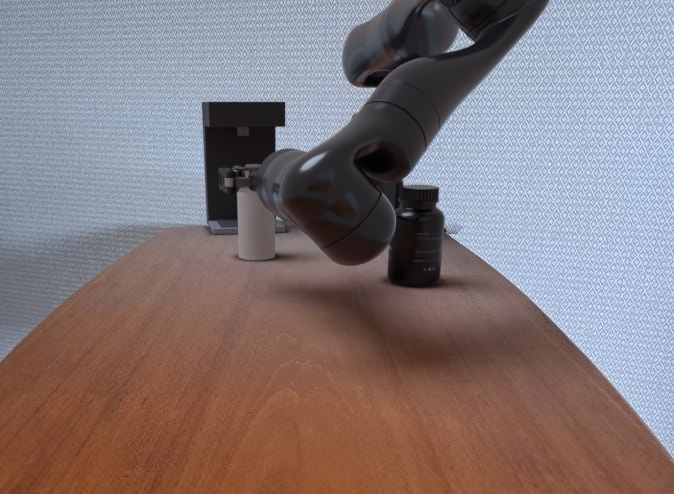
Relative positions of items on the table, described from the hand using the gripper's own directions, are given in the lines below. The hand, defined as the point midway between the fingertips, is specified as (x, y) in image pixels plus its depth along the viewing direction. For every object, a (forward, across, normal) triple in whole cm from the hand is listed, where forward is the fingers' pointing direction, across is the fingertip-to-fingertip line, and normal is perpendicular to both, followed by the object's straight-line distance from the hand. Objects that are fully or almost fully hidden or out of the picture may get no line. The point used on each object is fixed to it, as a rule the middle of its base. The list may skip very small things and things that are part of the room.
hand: (269, 173), depth 88 cm
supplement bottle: (-8, +18, -13) cm, 23 cm away
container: (+11, 0, -13) cm, 17 cm away
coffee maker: (+37, +2, -13) cm, 39 cm away
